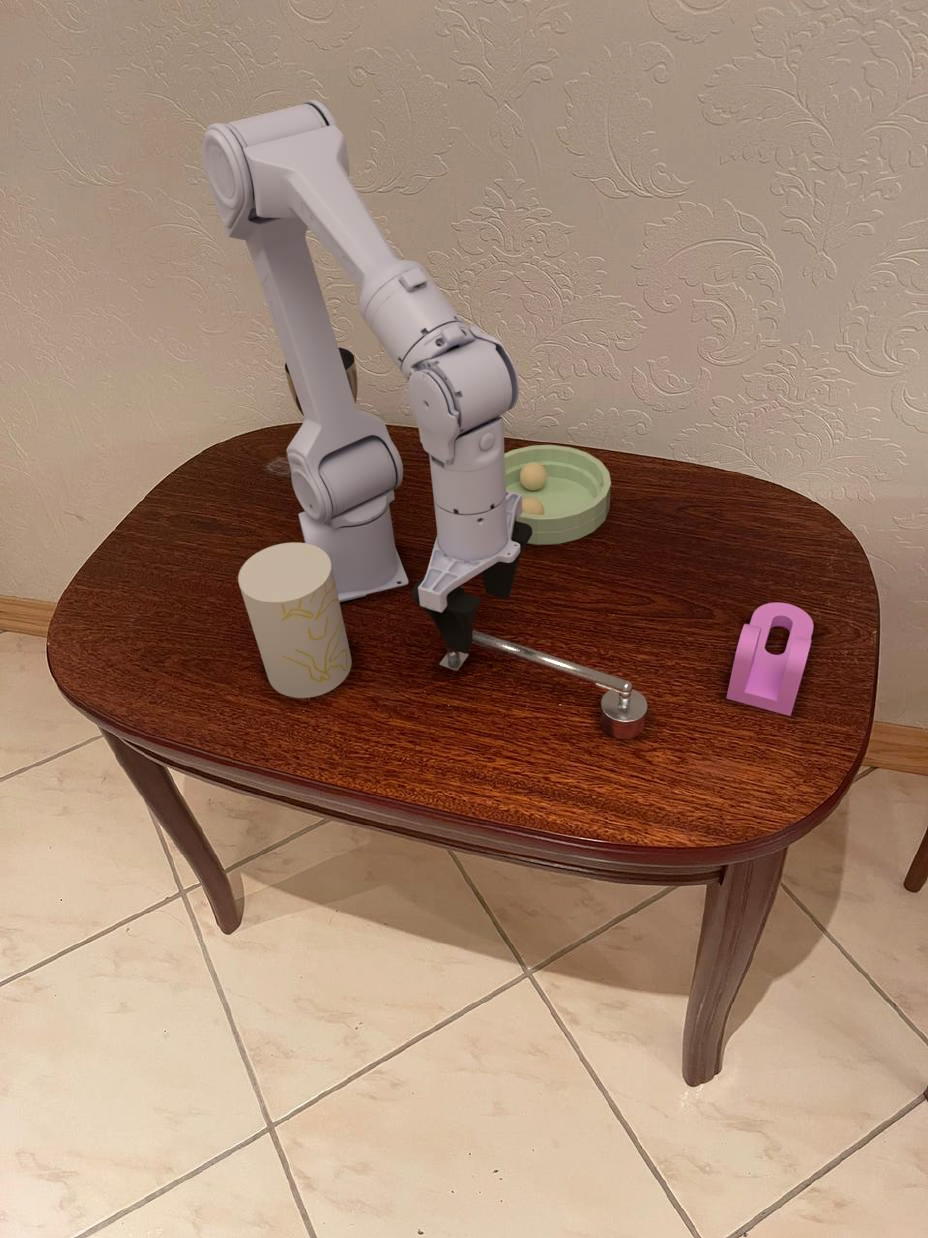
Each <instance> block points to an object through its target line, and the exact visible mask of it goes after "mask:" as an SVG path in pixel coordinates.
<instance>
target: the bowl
mask: <svg viewBox="0 0 928 1238" xmlns="http://www.w3.org/2000/svg"><path fill="white" fill-rule="evenodd" d="M504 459H505V485H506V491H509V492H513V493H517V494H521V495H522V500H523V499H525V498H535V499H537V500H539V501H540V502H541V503H542V504H543V506H544V510H545V514H544V515H535V514H529V513H522V514H521V515H520V516H519V517H518V518H516V521H518V522H522V523H526V524H528V525H530V526H531V527H532V536H531V537H530V539H529V541H528V542H527V544H530V545H535V546H536V545H537V546H543V545H544V546H545V545H560V544H565V543H568V542H572V541H573V542H574V541H578V540H580V539H582V538H584V537H586V536H588V535H590V534H592V533H594V532H595V531H596V530H597V529H599V528H600V527H601V525H603V524H604V522H605V521H606V520H607V517H608V514H609V511H610V508H611V493H612V492H611V491H612V480H611V474H610V471H609V469H608V468H607V467H606V466H605V464H604V463H603V462H602V461H601V460H600V459H598V458H597V457H595V456H594V455H591V454H590V453H588V452H587V451H583V450H581V449H578V448H575V447H570V446H563V445H555V444H538V445H537V444H535V445H528V446H524V447H520V448H515V449H512V450H510V451H507V452H504ZM528 463H539V464H541V465H542V466H543V467H544V468H545V470H546V472H547V480H546V483H545V484H544V486H543V487H541V488H540V489H538V490H529V489H527V488H525V487H524V486H523V485H522V484H521V481H520V472H521V470H522V468H523V467H524V466H525V465H526V464H528Z"/></svg>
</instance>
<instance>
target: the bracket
mask: <svg viewBox="0 0 928 1238" xmlns="http://www.w3.org/2000/svg"><path fill="white" fill-rule="evenodd" d="M775 627H781V628H784V629H786V630H788V632H789V636H788V640H787V643H786V647H785V650H784V652H783V653H780V654H772V653H770V652H768V651H767V650H766V646H767V642H768V639H769V635H770V632H771V630H772V629H773V628H775ZM813 632H814V621H813V619H812V617H811V616H810V615H809V614H808V613H807V612H806V611H805V610H804V609H802V608H801V607H798V606H796V605H794V604H791V603H786V602H768V603H765V604H762V605H760V606H759V607H757V608H756V609H755V610H754V611H753V613H752V615H751V618H750V622H749V624H748V623H744V624H743V627H742V629H741V633H740V636H739V639H738V643H737V647H736V651H735V654H734V660H733V665H732V668H731V674H730V678H729V684H728V689H727V694H726V697H725V698H726V700H730V701H733V702H737V703H741V704H744V705H748V706H751V707H755V708H759V709H763V710H767V711H770V712H774V713H777V714H780V715H784V716H787V717H791V716H792V713H793V710H794V705H795V702H796V699H797V696H798V692H799V688H800V685H801V681H802V678H803V674H804V670H805V667H806V665H807V664H806V663H807V660H808V657H809V652H810V649H811V646H812V645H811V644H812V641H813V640H812V635H813Z"/></svg>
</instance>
